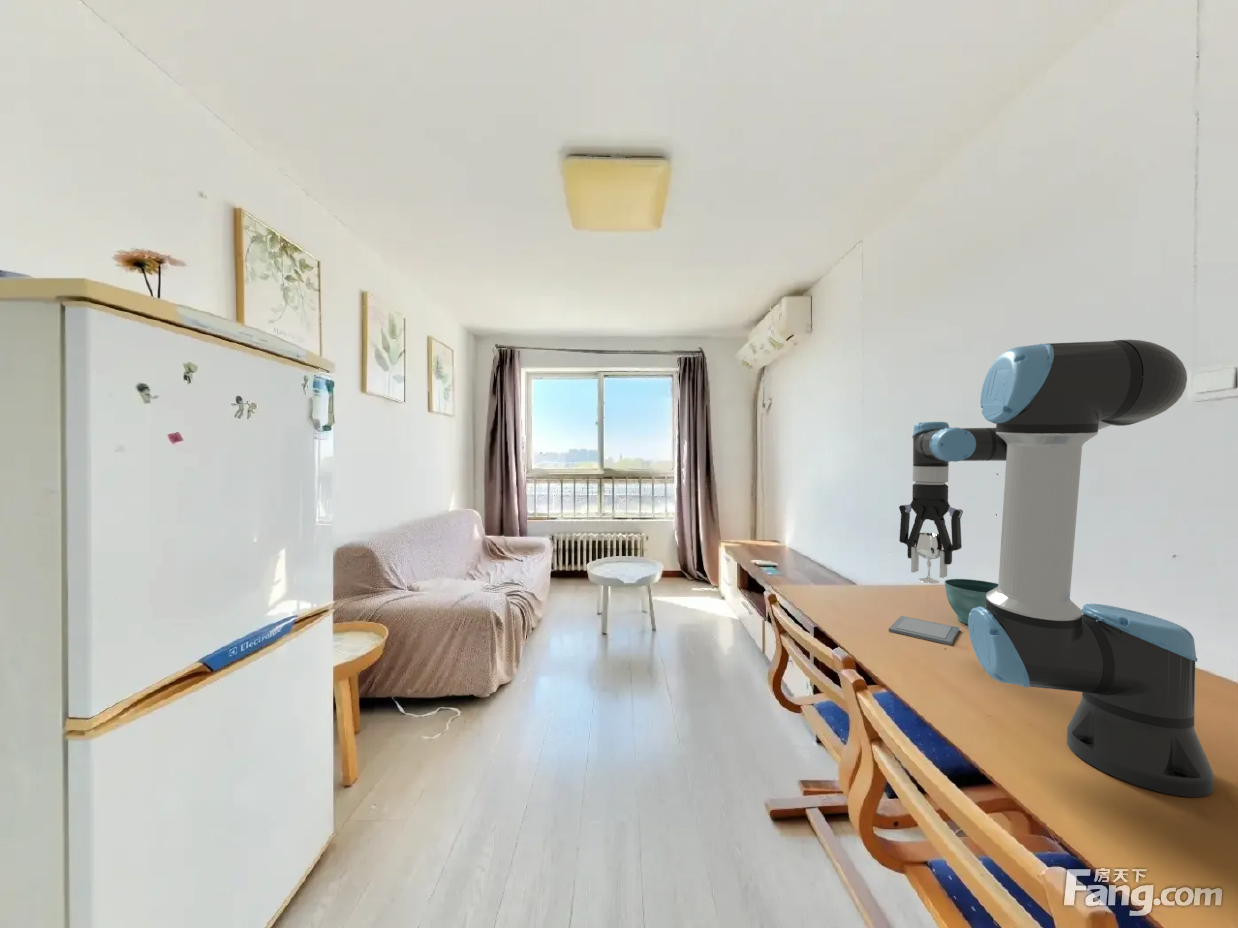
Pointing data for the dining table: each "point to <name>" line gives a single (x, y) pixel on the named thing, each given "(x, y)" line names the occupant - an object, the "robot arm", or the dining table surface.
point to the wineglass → (929, 551)
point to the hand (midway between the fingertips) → (928, 573)
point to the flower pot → (967, 595)
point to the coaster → (925, 630)
